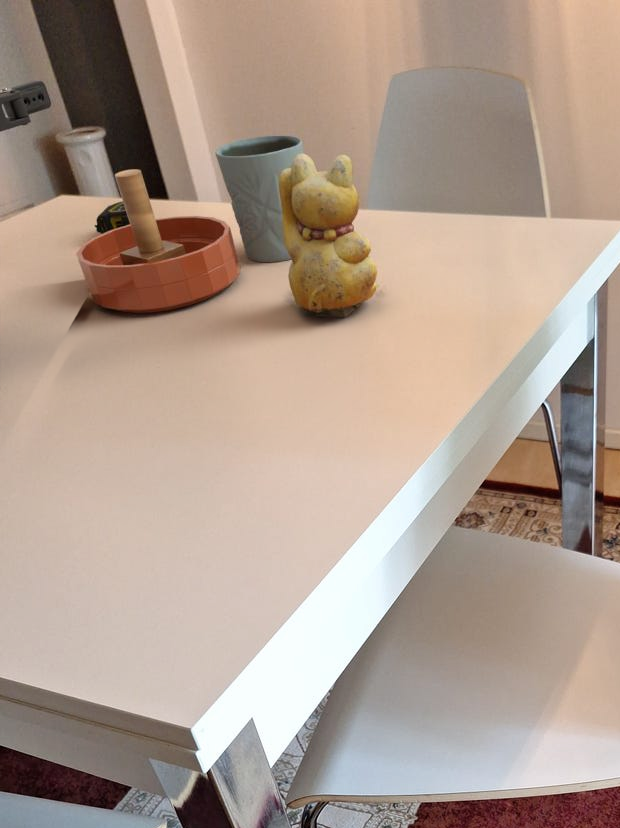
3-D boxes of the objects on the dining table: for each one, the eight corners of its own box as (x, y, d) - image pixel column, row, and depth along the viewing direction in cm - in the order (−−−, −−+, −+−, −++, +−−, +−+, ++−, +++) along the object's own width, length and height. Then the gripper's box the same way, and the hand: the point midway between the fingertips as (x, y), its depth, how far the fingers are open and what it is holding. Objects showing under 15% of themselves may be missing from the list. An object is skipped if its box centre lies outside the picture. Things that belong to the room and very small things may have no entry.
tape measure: (117, 227, 130) (107, 199, 127) (164, 223, 129) (155, 195, 127) (100, 244, 124) (90, 214, 122) (149, 239, 124) (140, 210, 121)
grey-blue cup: (226, 263, 114) (199, 157, 106) (264, 235, 121) (241, 134, 113) (300, 264, 111) (277, 155, 103) (334, 236, 118) (315, 132, 110)
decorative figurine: (389, 295, 101) (367, 144, 91) (369, 325, 95) (342, 167, 85) (306, 296, 103) (275, 148, 93) (281, 326, 97) (245, 172, 87)
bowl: (80, 325, 102) (61, 275, 98) (109, 272, 115) (93, 226, 111) (235, 305, 102) (221, 255, 99) (246, 255, 115) (235, 208, 112)
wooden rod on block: (130, 288, 107) (93, 177, 100) (165, 273, 110) (132, 164, 103) (158, 295, 105) (122, 181, 97) (193, 279, 108) (161, 168, 100)
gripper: (-165, 181, 82) (-16, 133, 93) (-65, 191, 77) (82, 139, 87) (-214, 85, 77) (-51, 45, 88) (-111, 88, 72) (50, 46, 82)
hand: (15, 92), depth 87 cm, fingers open, 8 cm apart
